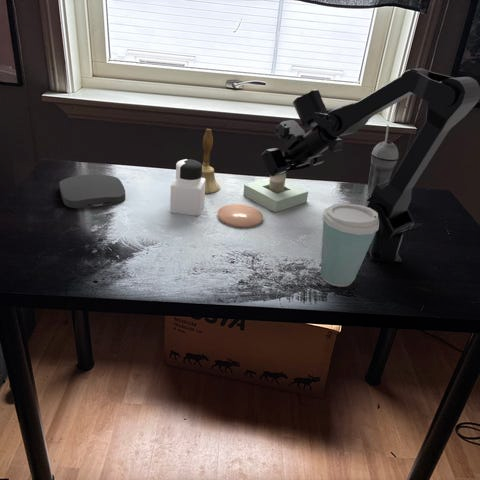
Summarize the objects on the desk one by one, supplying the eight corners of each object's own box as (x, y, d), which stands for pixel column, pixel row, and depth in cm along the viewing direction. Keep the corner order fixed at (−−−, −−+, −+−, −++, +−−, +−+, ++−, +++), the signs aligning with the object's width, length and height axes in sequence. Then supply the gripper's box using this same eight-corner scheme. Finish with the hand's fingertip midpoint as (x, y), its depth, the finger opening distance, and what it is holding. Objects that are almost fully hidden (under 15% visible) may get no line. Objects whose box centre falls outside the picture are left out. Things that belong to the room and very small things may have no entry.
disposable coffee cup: (302, 281, 92) (315, 212, 85) (320, 257, 101) (334, 193, 93) (355, 300, 88) (373, 229, 81) (369, 274, 97) (387, 208, 89)
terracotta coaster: (263, 229, 109) (263, 226, 109) (216, 225, 109) (216, 222, 109) (262, 209, 119) (262, 206, 118) (218, 205, 119) (219, 202, 118)
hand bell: (190, 180, 131) (193, 123, 123) (220, 182, 131) (225, 126, 124) (187, 192, 124) (190, 132, 116) (219, 195, 124) (223, 135, 116)
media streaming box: (58, 186, 120) (57, 175, 119) (116, 181, 126) (115, 171, 125) (65, 211, 109) (64, 199, 107) (129, 205, 115) (128, 193, 113)
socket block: (306, 201, 125) (308, 191, 124) (275, 212, 118) (276, 201, 117) (274, 186, 133) (276, 176, 131) (243, 194, 126) (244, 184, 124)
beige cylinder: (282, 202, 124) (288, 162, 118) (267, 200, 124) (272, 161, 118) (282, 195, 127) (287, 157, 122) (267, 194, 127) (272, 155, 122)
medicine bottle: (204, 204, 118) (207, 158, 112) (199, 216, 112) (201, 169, 106) (176, 200, 119) (177, 155, 113) (169, 212, 112) (170, 165, 107)
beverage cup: (390, 201, 131) (410, 130, 121) (364, 199, 131) (382, 128, 121) (384, 191, 137) (402, 123, 128) (359, 188, 137) (375, 120, 127)
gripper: (324, 108, 117) (286, 139, 129) (271, 116, 106) (235, 149, 118) (343, 148, 116) (303, 175, 128) (292, 161, 105) (253, 189, 117)
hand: (274, 171), depth 123 cm, fingers closed on beige cylinder, 4 cm apart
